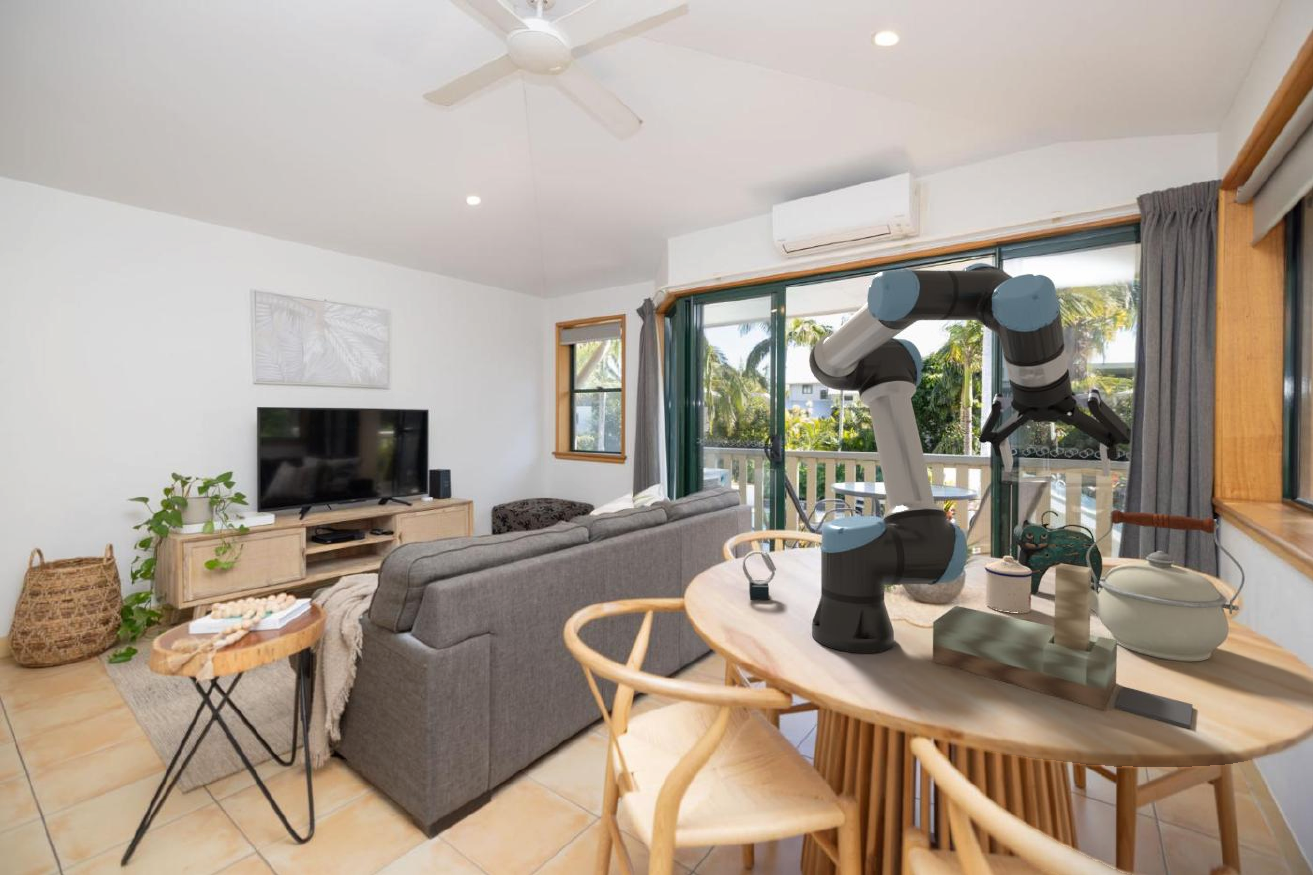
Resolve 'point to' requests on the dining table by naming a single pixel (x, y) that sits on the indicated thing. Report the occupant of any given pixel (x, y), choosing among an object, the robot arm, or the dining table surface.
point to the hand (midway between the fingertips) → (1055, 468)
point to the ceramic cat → (1054, 549)
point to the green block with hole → (1025, 655)
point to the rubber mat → (1155, 707)
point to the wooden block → (1072, 606)
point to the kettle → (1162, 598)
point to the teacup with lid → (1008, 586)
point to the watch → (759, 587)
